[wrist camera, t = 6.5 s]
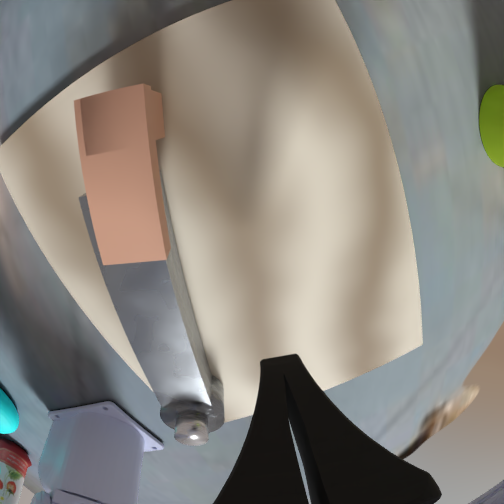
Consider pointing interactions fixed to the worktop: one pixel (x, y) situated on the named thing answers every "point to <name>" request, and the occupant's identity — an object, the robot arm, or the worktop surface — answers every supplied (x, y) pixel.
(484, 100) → the soap dispenser
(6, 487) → the liquor
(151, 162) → the block
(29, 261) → the worktop surface
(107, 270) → the link
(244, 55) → the hinge board
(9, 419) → the donuts
